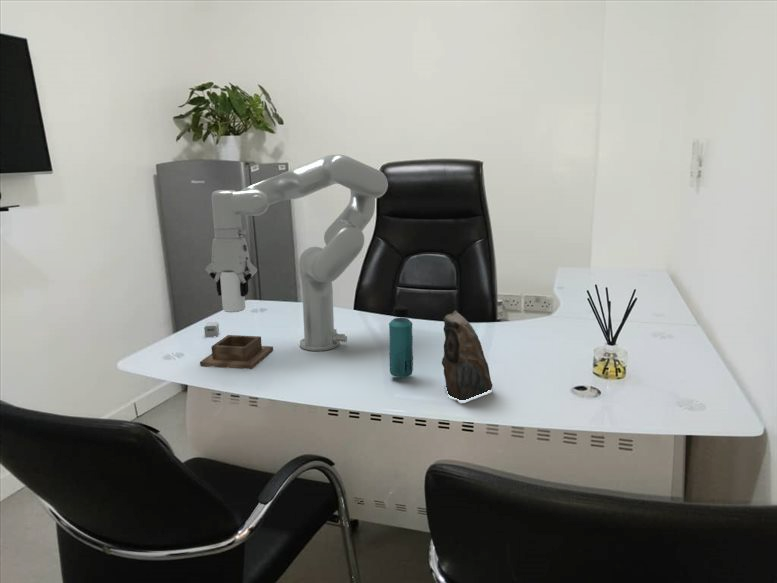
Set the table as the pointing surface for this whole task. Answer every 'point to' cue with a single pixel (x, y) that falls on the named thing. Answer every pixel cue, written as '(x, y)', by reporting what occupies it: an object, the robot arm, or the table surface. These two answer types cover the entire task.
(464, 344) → the owl
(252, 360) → the holder
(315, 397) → the table surface
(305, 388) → the table surface
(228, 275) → the can
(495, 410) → the table surface
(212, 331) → the usb wall charger
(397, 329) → the beverage bottle
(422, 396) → the table surface
